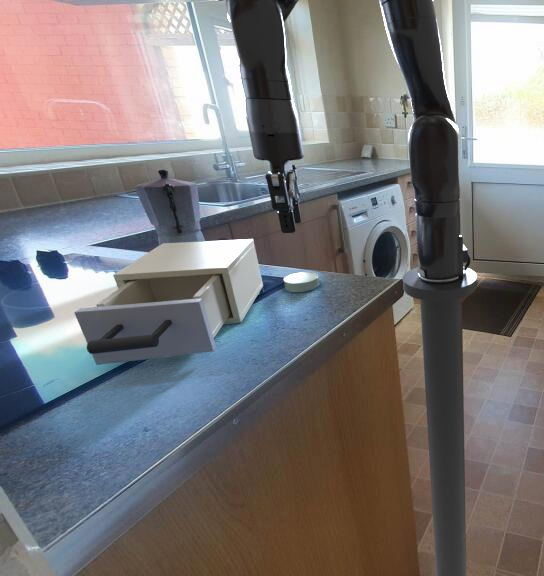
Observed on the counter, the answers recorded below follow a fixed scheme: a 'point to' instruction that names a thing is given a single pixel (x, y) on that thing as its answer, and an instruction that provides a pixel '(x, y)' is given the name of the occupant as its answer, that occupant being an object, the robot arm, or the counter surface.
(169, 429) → the counter surface
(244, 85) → the robot arm
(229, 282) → the cabinet
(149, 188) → the moka pot
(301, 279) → the pale green disc
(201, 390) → the counter surface
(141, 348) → the drawer
